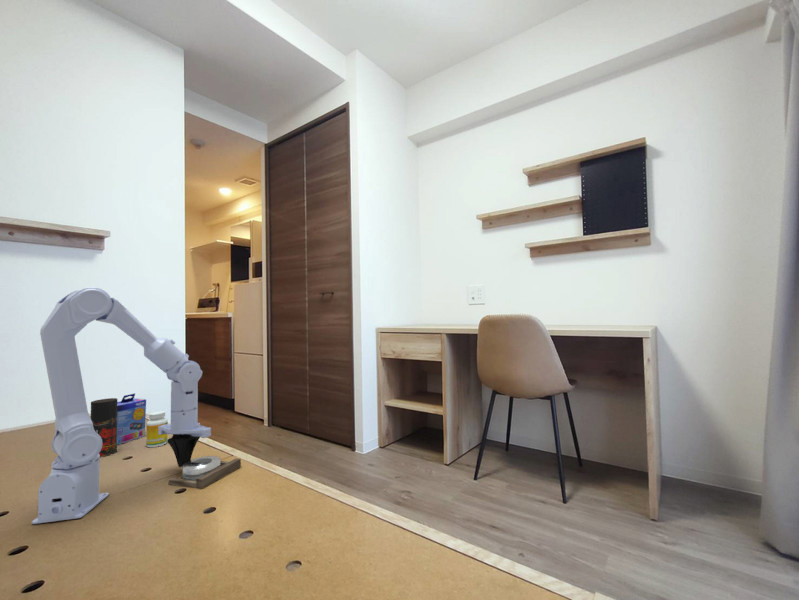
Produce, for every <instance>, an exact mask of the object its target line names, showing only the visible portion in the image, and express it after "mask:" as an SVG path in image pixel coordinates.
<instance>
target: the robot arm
mask: <svg viewBox="0 0 799 600" xmlns="http://www.w3.org/2000/svg"><path fill="white" fill-rule="evenodd" d="M94 321H97V322H102V323H106V324H111V325H113V326H116V327H117V328H118V329H120V331H122V332H123V333H124V334H126V335H127V336H128V337H130V338H131V339H132V340H134V341H135V342H136V343H138V345H140V346H141V347H143V356H144V357H145V358H146V359H148V360H149V361H150V362H151V363H152V364H154V366H156V367H158V368H159V369H160V370H161V371H162V372H163V373H165V374H166V378H167V379H168V380H169V381H171V382H170V387H171V388H170V389H171V390H170V424H165V425H162V426H159V427H158V434H167V435H172V436H171V437H170V438H167V443H168V445H169V446H170V447H171V449H172V452H173V453H174V457H175V459H176V460H175V461H176V463H177V466H178V468H183V464H184V463H186V462H187V461H190V460H192V456H193V452H194V449H195V447H196V445H197V443H198V441H199V439H200V438H201V439H206V438H209V437H211V436H212V428H211V427H208V426H204V425H201V423H200V422H198V421H199V420H198V418H199V417H198V415H199V414H198V409H199V403H198V402H199V399H198V398H199V390H198V386H199V385H198V383H199V380H200V379H201V378H202V376H203V371H204V370H202V369H201V367H200V364H199V363H197V362H196V361H194V360H189V357H190V355H189V354H188V353H184V352H182V351H181V350H180V349H179V348H178V347H177V346H176V345H175V344H176V341H174V340H173V339H170V338H169V339H168V338H166V337H157V336H155V335H154V333H152V332H151V330H149V329H148V328H147V326H145V325H144V324H143V323H142V322H141V321H140V320H139V319H138V318H137V317H136V316H135V315H134V314H133V313H132V312H131V311H129V309H127V308H126V307H125V306H124V305H123V304H122V303H121V301H119V300H118V299H115V298H114V297H111V296H110V294H109V293H108V292H107V291H105V290H104V289H102V288H98V287H95V286H94V287H93V286H90V287H84V288H82V289H79V290H78V289H77V290H74V291H71V292H70V293H68V294H66V295H65V296H64V297H62V298H60V300H58V301H57V302H56V303H55V306H54V308H53V310H52V311H51V313H50V314H49V316H48V317H47V318H46V319H45V321H44V322H43V325H42V326H41V327H40V332H39V334H40V335H39V336H40V340H41V344H42V345H41V346H42V350H43V357H44V361H45V367H46V373H47V378H48V382H49V383H48V384H49V388H50V394H51V399H52V405H53V410H54V415H55V420H54V430H55V431H54V432H55V433H54V435H53V438H52V440H51V449H52V451H53V452H54V453H55V454H56V455H57V456H56V458H54V461H52V463H51V471H50V473H49V475H48V476H47V477H46V478H44V480H43V481H42V482H41V483H40V485H39V488H38V499H37V503H38V504H37V505H38V506H37V517H36V518H35V519H33V520H31V524H32V525H37V524H43V523H51V522H58V521H65V520H67V521H68V520H75V519H80V518H83V517H84V516H85V515H87V514H88V513H90V512H91V510H93V509H94V508H95V507H97V505H99V503H101V502H102V501H103V500H104V499H106V498H107V497H108V496H109V492H102V493H100V468H101V467H100V466H101V465H100V463H101V462H100V460H101V459H100V458H101V457H100V454H99V452H100V451H101V448H102V439H101V437H100V436H99V435H98V434H97V433H96V432H95V430H94V428H93V423H92V420H91V415H90V414H89V412H88V411H89V410H88V405H87V400H86V398H87V397H86V393H85V388H84V381H83V378H82V377H83V375H82V372H81V366H80V365H81V364H80V360H79V355H78V348H77V344H76V343H77V342H76V339H75V337H76V335H78V334H79V333H80V332H81V331H82V330H83V329H84V328H85V327H86V326H88V324H90V323H91V322H94Z"/></svg>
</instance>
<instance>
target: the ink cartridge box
mask: <svg viewBox="0 0 799 600" xmlns="http://www.w3.org/2000/svg"><path fill="white" fill-rule="evenodd" d="M135 396H136V393H130V394H125V395H123V396H122V399H121V401H117V446H119V445H122V444H125V443H128V442H131V441H134V440H137V439H141V438H144V437H145V434H146V417H147V416H146V413H147V412H146V411H147V410H146V409H147V399H146V398H135Z"/></svg>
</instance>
